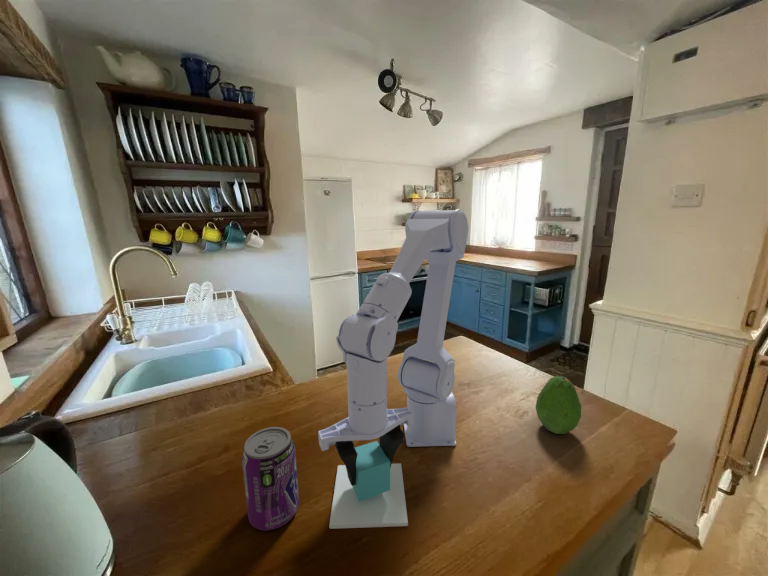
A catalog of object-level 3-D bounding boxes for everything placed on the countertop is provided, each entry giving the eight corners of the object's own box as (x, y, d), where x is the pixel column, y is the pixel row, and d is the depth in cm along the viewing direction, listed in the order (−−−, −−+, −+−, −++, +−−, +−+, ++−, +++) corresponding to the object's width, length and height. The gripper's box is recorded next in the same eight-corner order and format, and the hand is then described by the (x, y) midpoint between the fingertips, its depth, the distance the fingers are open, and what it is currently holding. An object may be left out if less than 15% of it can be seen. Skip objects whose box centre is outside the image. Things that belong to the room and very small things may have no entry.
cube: (377, 467, 52) (377, 440, 51) (390, 489, 48) (390, 461, 47) (348, 477, 50) (347, 449, 49) (359, 501, 46) (358, 472, 45)
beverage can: (284, 539, 42) (277, 463, 40) (237, 529, 44) (228, 455, 41) (307, 495, 49) (302, 427, 47) (266, 488, 51) (259, 422, 48)
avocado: (552, 446, 60) (559, 388, 57) (526, 420, 67) (531, 369, 65) (588, 439, 61) (596, 383, 59) (558, 416, 69) (564, 365, 66)
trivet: (401, 466, 55) (401, 463, 55) (407, 525, 44) (407, 522, 44) (338, 468, 55) (337, 465, 55) (329, 528, 44) (329, 525, 44)
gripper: (399, 373, 52) (399, 444, 55) (312, 392, 47) (316, 470, 49) (421, 394, 46) (419, 473, 49) (323, 419, 40) (327, 507, 43)
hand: (368, 474), depth 49 cm, fingers closed on cube, 5 cm apart
